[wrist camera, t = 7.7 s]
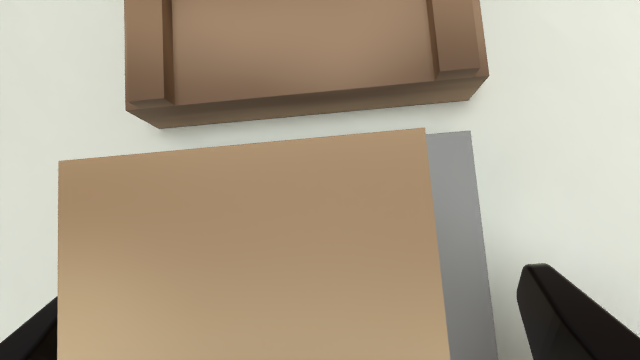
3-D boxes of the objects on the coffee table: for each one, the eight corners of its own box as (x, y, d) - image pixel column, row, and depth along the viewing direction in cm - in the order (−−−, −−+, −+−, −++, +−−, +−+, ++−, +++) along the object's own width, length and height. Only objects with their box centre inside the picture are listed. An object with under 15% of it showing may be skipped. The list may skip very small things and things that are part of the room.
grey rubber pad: (486, 365, 15) (500, 379, 13) (177, 380, 16) (159, 396, 14) (459, 140, 16) (470, 130, 14) (172, 165, 17) (154, 158, 15)
